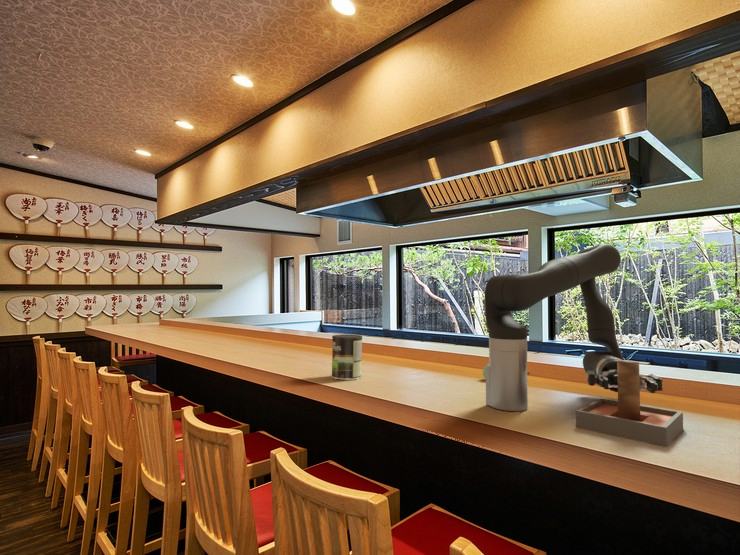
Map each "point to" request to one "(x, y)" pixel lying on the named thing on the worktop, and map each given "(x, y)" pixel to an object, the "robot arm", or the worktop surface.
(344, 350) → the coffee can
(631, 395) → the dowel
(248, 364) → the worktop surface
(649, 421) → the bore box
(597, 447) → the worktop surface
